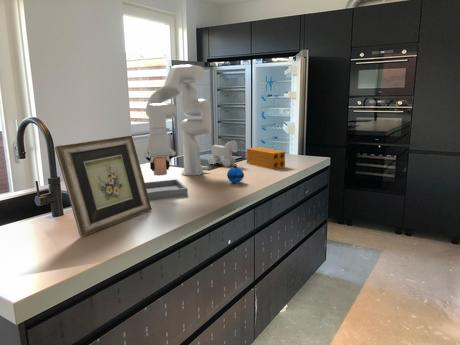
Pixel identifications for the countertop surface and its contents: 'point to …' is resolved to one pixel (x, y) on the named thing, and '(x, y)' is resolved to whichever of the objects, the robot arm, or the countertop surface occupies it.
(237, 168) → the ornament
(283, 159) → the brick
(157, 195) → the grey square tray
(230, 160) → the pony
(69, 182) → the picture frame
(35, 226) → the countertop surface
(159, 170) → the terracotta cup
